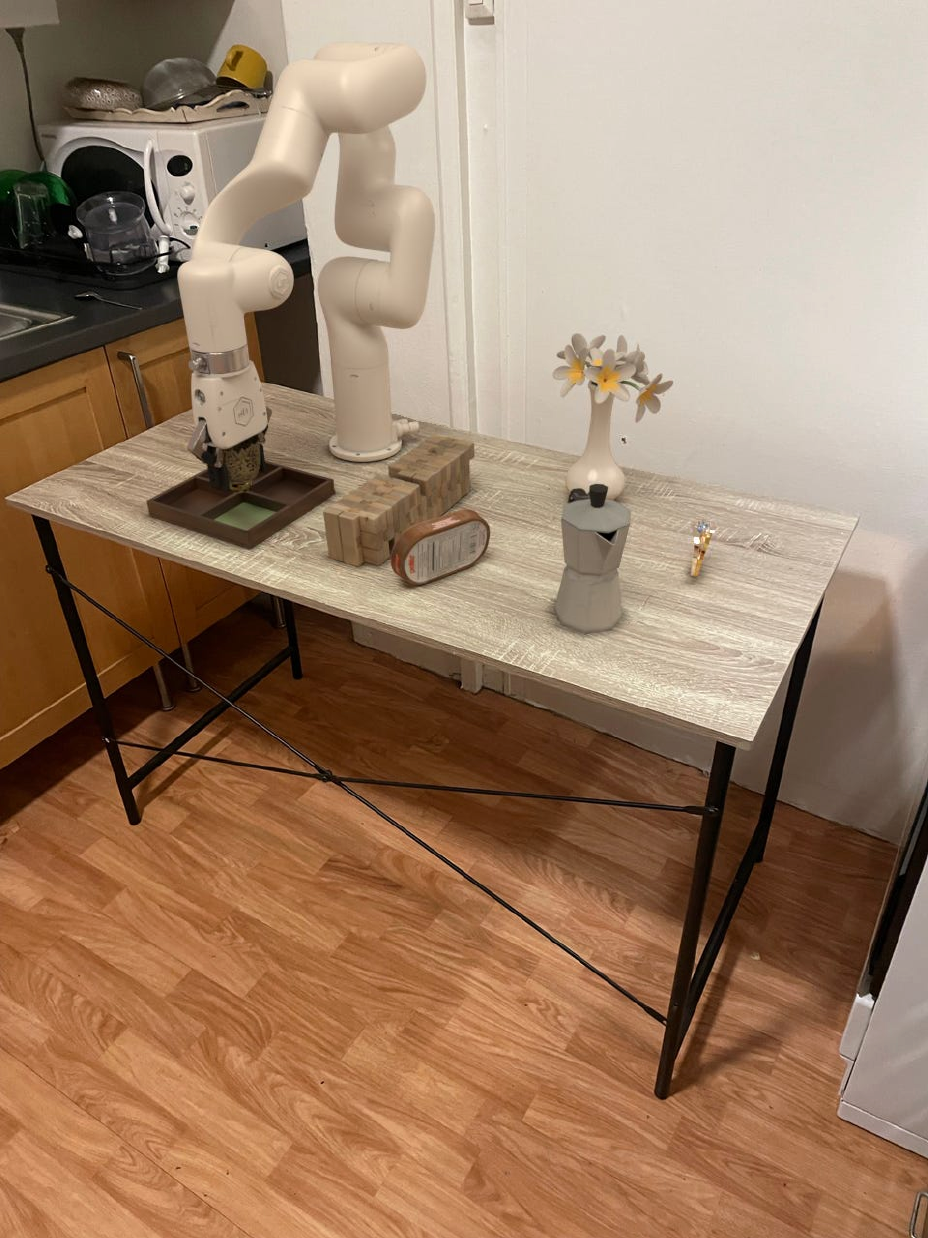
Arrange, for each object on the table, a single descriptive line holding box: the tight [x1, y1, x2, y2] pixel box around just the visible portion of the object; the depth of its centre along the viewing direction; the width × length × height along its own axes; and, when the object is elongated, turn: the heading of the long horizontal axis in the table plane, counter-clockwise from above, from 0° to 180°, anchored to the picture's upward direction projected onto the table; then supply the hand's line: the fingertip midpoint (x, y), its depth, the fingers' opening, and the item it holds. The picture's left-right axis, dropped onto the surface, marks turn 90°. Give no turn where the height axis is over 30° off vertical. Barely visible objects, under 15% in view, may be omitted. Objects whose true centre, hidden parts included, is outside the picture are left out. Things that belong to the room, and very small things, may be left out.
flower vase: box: [551, 332, 674, 501], centre depth 136 cm, size 13×18×25 cm
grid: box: [145, 460, 336, 550], centre depth 142 cm, size 20×20×3 cm
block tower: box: [322, 433, 475, 567], centre depth 136 cm, size 8×8×29 cm
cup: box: [211, 434, 260, 493], centre depth 132 cm, size 8×7×8 cm
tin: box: [390, 508, 491, 586], centre depth 124 cm, size 15×3×8 cm, turn 126°
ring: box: [690, 518, 716, 578], centre depth 123 cm, size 7×3×8 cm, turn 159°
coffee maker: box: [553, 484, 632, 634], centre depth 114 cm, size 15×9×18 cm, turn 12°
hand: (238, 478), depth 133 cm, fingers closed on cup, 7 cm apart
